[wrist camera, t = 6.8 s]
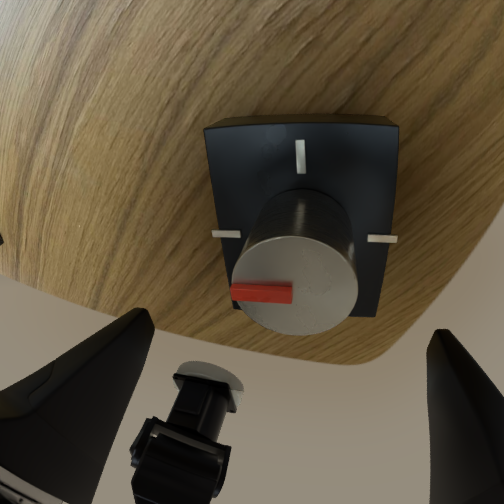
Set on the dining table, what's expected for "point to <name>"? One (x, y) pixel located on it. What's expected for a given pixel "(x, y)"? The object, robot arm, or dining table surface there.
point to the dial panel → (308, 181)
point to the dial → (298, 265)
